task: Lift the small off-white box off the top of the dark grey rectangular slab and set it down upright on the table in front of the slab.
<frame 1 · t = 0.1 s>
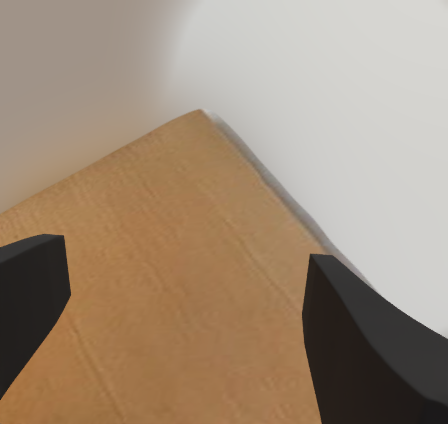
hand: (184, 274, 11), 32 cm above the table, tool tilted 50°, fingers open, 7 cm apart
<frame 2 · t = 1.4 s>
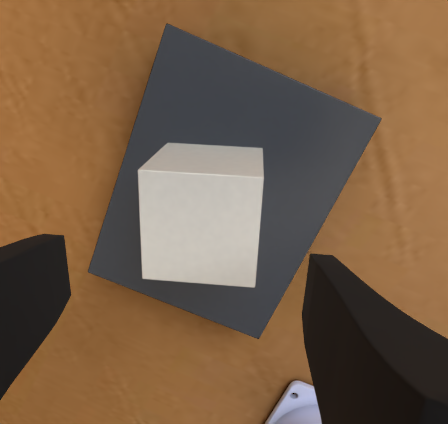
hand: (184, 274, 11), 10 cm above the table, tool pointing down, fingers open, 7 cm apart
white box: (213, 190, 19), point 3 cm above the table, touching dark grey rectangular slab
dark grey rectangular slab: (223, 187, 21), on the table, touching white box
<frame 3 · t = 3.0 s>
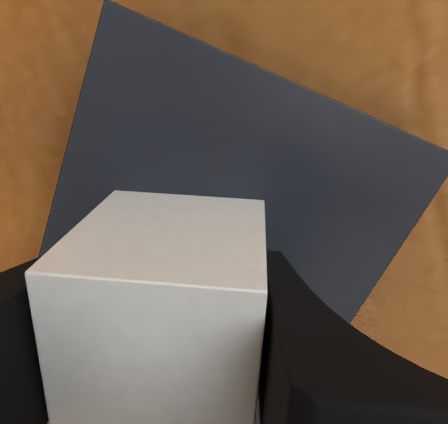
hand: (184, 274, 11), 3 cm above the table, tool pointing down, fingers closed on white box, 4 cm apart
white box: (187, 261, 12), point 3 cm above the table, touching gripper, dark grey rectangular slab
dark grey rectangular slab: (207, 245, 15), on the table, touching white box
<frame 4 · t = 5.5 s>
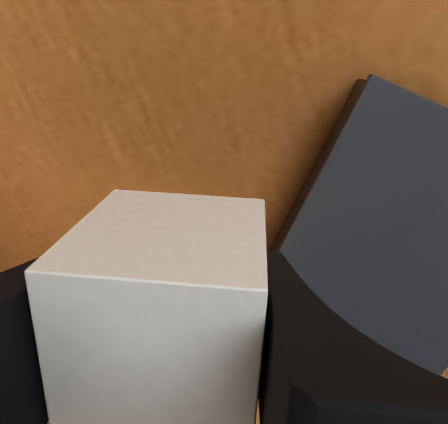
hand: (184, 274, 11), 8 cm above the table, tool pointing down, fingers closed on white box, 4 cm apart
white box: (188, 260, 12), point 8 cm above the table, touching gripper
dark grey rectangular slab: (381, 240, 20), on the table
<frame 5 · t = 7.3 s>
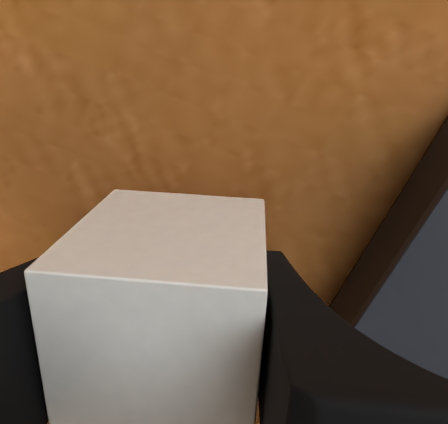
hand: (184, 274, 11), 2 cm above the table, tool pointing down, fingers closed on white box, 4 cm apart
white box: (187, 260, 12), point 1 cm above the table, touching gripper
when the fingers open (1 cm above the table, at t = 8.2 s): white box stays where it is, on the table.
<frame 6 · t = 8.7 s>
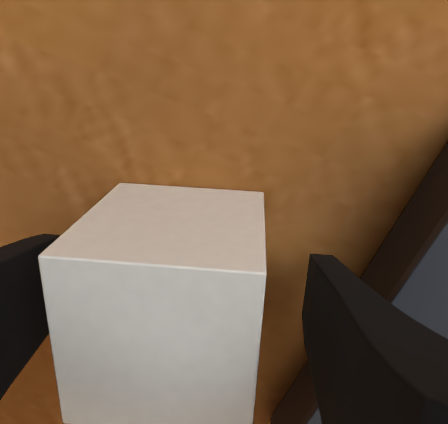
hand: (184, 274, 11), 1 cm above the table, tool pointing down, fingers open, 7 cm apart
white box: (190, 252, 13), on the table
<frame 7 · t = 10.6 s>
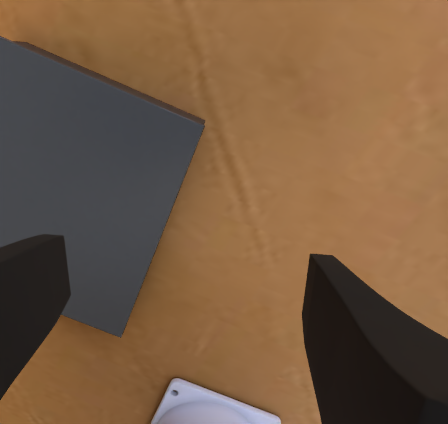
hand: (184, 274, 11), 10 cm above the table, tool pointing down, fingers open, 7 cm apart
dark grey rectangular slab: (85, 190, 22), on the table
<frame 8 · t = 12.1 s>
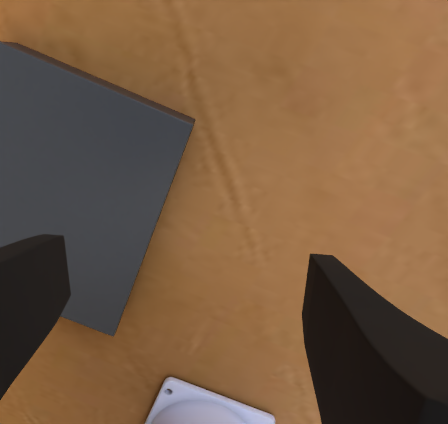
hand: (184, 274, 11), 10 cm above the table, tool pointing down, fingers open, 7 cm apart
dark grey rectangular slab: (76, 190, 22), on the table
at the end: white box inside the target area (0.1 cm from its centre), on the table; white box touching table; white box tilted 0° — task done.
